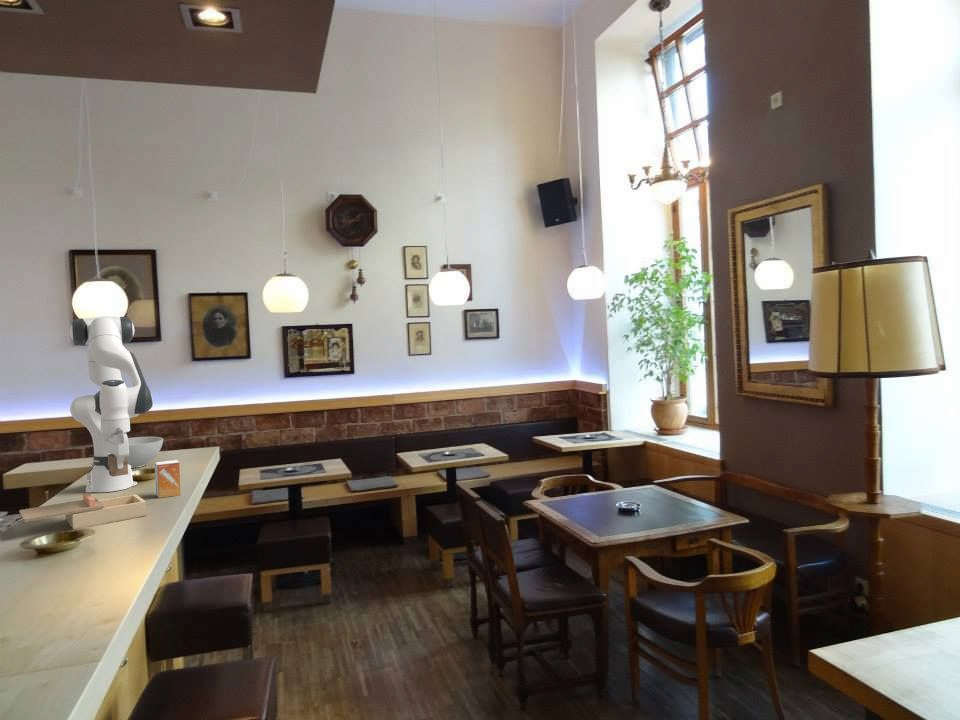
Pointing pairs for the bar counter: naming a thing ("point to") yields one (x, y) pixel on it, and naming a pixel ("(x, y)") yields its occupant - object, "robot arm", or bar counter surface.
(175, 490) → the small box
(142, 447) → the decorative bowl
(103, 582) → the bar counter surface
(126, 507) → the open wooden box
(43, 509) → the lid
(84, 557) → the bar counter surface
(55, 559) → the bar counter surface
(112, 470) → the walnut block
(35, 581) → the bar counter surface
